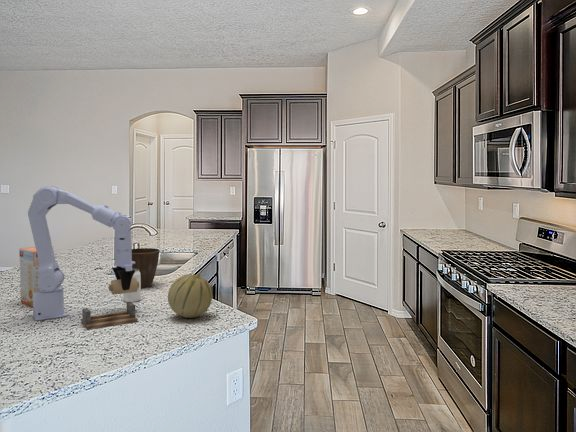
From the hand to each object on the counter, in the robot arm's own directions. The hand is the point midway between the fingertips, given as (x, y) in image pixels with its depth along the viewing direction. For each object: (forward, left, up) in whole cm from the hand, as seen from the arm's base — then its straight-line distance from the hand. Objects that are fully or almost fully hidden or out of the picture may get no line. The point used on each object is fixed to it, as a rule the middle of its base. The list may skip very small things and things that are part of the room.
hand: (123, 288), depth 170 cm
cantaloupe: (+17, -19, -9) cm, 27 cm away
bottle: (0, 0, -2) cm, 2 cm away
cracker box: (-25, +30, -9) cm, 40 cm away
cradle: (-7, -10, -8) cm, 15 cm away
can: (+7, +15, -9) cm, 19 cm away
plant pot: (+18, +38, -9) cm, 43 cm away
